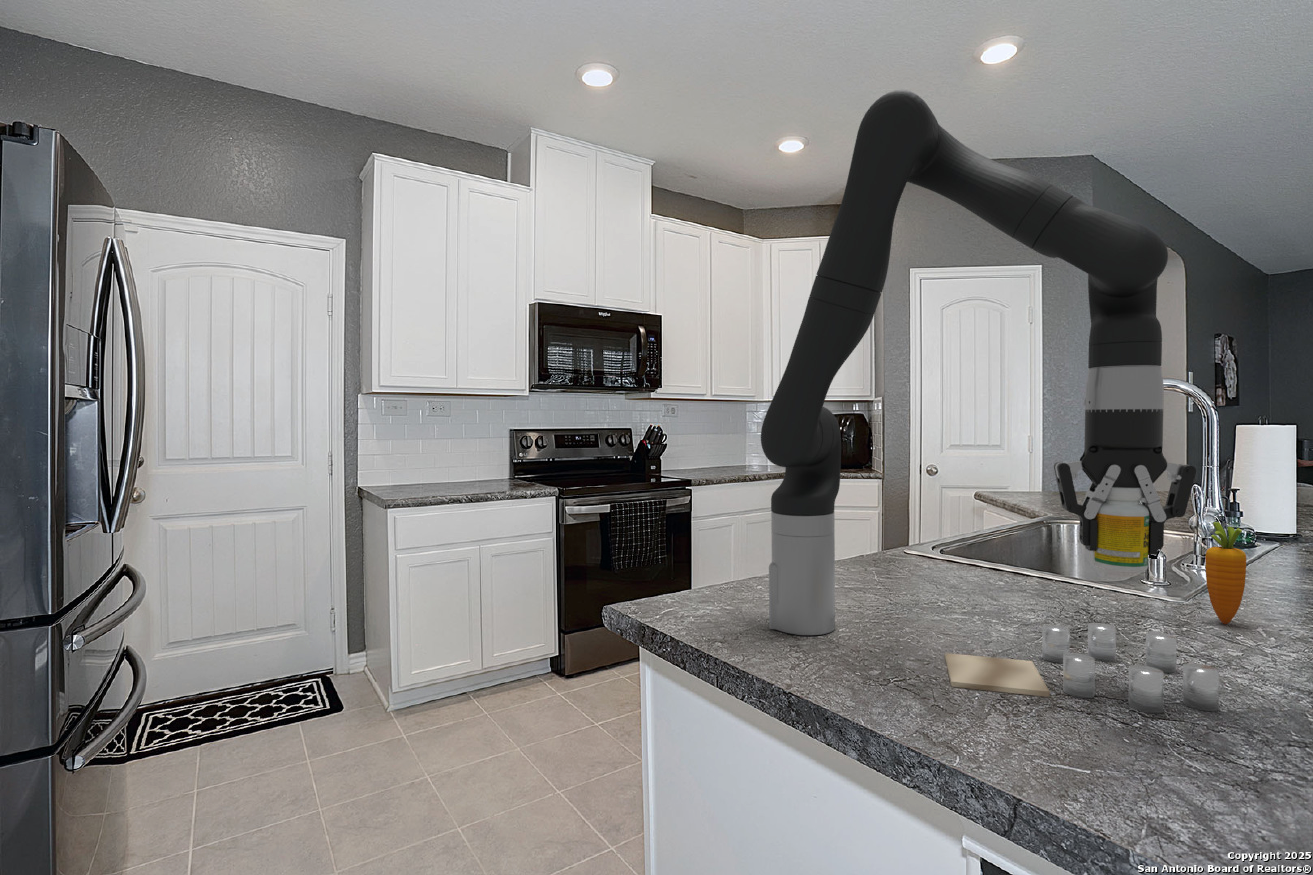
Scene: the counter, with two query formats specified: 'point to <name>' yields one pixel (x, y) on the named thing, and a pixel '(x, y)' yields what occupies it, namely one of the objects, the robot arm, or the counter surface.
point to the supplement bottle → (1122, 532)
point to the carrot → (1225, 574)
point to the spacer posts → (1130, 668)
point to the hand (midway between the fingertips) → (1120, 550)
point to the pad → (995, 674)
